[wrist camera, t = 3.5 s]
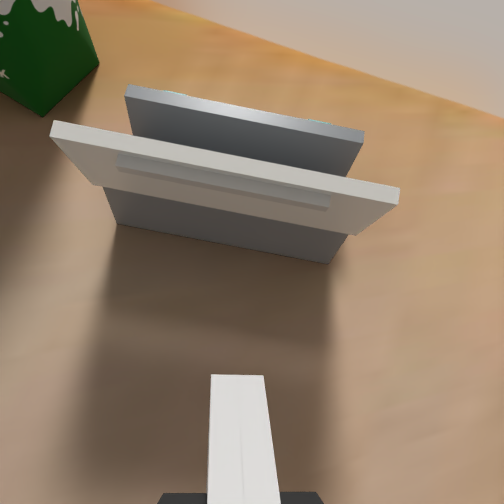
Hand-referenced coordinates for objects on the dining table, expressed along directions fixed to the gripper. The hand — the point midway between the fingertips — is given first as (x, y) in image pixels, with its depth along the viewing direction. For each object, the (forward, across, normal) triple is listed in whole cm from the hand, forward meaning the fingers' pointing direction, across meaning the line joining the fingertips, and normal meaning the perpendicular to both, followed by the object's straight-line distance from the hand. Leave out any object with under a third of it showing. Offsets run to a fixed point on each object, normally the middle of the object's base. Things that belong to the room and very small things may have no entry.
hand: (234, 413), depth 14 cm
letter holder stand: (+24, 0, 0) cm, 24 cm away
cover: (+13, 0, +4) cm, 14 cm away
